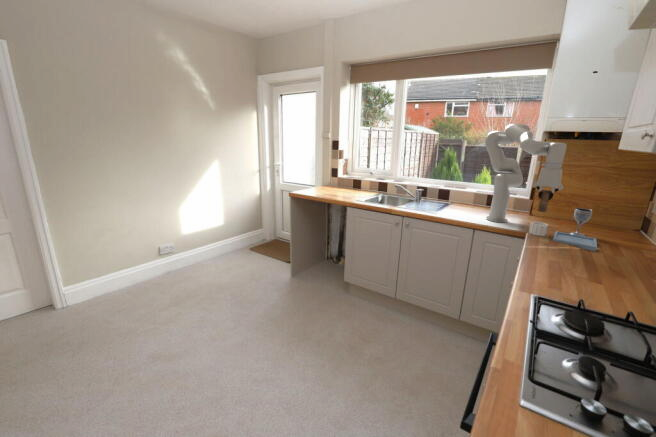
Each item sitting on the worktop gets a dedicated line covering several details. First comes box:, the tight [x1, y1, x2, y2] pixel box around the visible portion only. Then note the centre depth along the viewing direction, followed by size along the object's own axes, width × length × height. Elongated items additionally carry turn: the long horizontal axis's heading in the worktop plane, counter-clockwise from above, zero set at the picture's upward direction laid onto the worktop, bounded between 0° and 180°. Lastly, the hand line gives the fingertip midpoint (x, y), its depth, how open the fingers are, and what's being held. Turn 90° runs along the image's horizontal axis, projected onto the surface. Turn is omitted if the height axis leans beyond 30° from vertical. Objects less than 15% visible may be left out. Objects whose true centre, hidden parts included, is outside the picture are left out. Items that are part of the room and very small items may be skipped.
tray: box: [552, 230, 598, 252], centre depth 164 cm, size 18×18×2 cm
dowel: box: [537, 189, 552, 213], centre depth 170 cm, size 4×4×12 cm
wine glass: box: [569, 207, 593, 237], centre depth 177 cm, size 8×8×15 cm
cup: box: [528, 221, 549, 237], centre depth 174 cm, size 8×8×7 cm
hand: (544, 198), depth 169 cm, fingers closed on dowel, 4 cm apart
